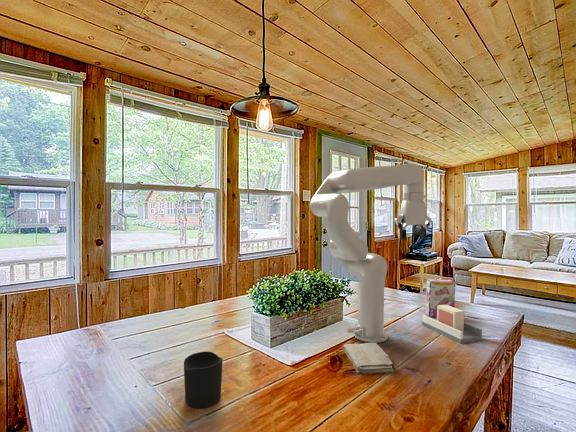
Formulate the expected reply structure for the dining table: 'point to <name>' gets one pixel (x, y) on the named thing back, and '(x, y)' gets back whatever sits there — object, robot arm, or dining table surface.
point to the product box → (451, 316)
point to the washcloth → (368, 358)
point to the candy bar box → (439, 295)
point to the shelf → (453, 330)
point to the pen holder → (202, 379)
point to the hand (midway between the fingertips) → (413, 239)
